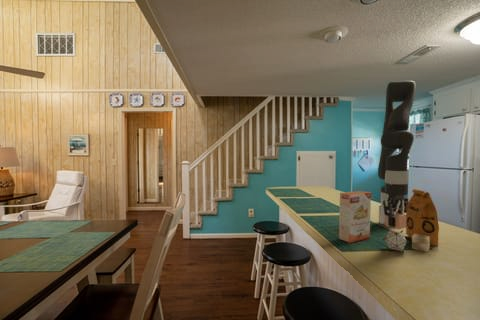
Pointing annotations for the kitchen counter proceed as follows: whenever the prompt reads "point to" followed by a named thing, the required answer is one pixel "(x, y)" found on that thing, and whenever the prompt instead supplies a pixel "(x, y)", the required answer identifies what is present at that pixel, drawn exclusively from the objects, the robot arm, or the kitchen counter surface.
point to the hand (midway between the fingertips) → (395, 225)
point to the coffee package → (422, 216)
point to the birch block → (421, 242)
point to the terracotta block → (398, 221)
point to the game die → (395, 240)
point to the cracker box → (354, 216)
